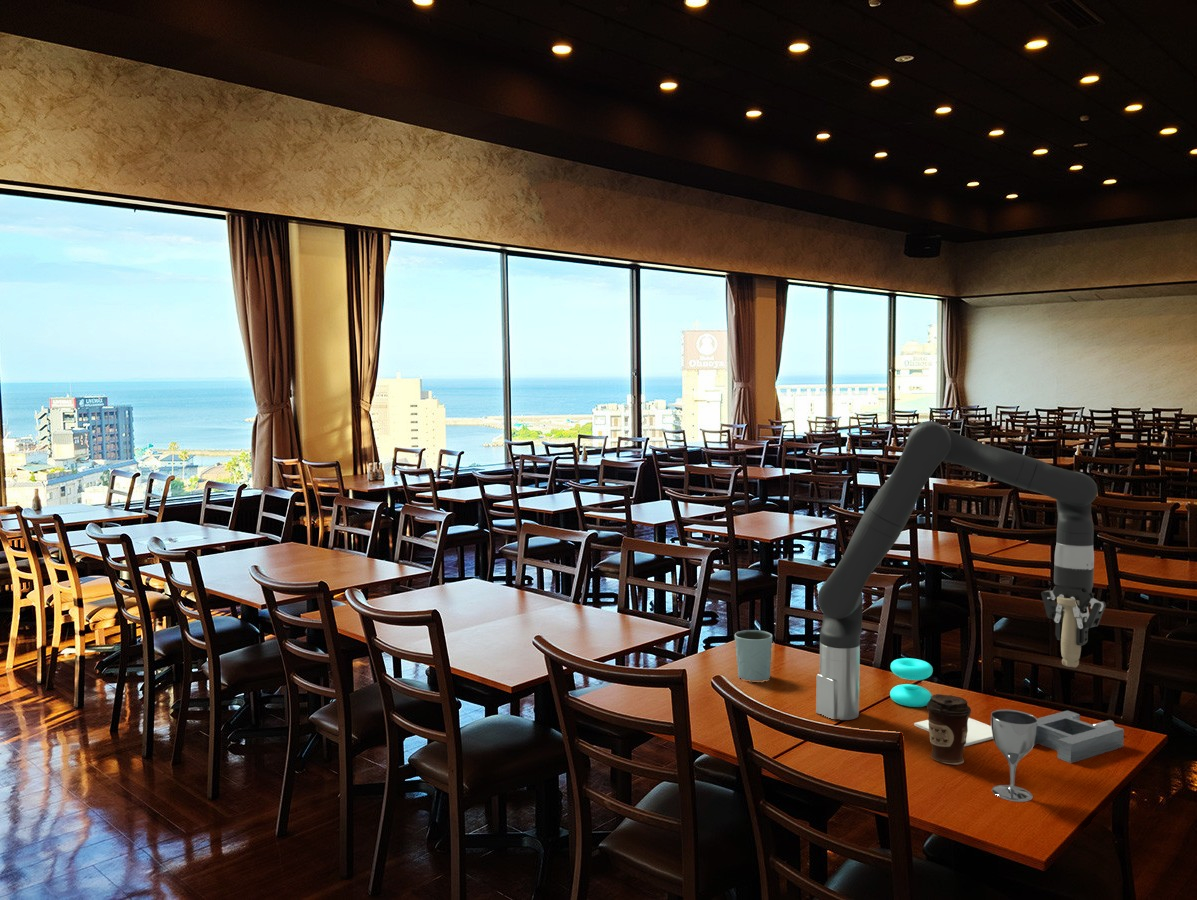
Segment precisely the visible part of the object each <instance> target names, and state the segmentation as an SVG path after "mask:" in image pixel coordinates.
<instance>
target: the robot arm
mask: <svg viewBox="0 0 1197 900" xmlns="http://www.w3.org/2000/svg"><path fill="white" fill-rule="evenodd" d="M942 462H945V463H950V464H954V465H956V464H957V465H960V466H963V467H966V468H969V469H972V470H974V471H976V472H979V473H981V474H984V475H986V476H988V477H990V478H992V479H994V480H997V481H1001V482H1002V483H1005V484H1008V485H1010V486H1014V487H1016V488H1020V489H1023V490H1027V491H1030V492H1034V493H1038V494H1042V495H1045V496H1046V497H1049V498H1052V499H1054V500H1056V513H1057V525H1056V545H1055V550H1054V567H1053V568H1054V569H1053V583H1054V587H1053V589H1052V590H1051V589H1049V590H1043V591H1041V593H1040V595H1041V598H1042V599H1041V600H1042V602H1043V606H1044V610H1045V615H1046V616H1047V618H1048V619H1051V620H1053V621H1054V623H1055V625H1054V627H1055V632H1054V635H1055V637H1056V640H1058V641H1061V634H1062V624H1063V614H1064V607H1063V606H1061V605H1060V604H1058V603H1057V601H1056V600H1057V597H1058V596H1059V597H1061V598H1070V600H1075V604H1076V607H1073V613H1074V617H1075V618H1076V620H1077V625H1078V628H1077V637H1076V644H1077V645H1079V646H1081V647H1082V646H1085V645H1086V644H1087V643H1088V641H1089V629H1091V628H1096V627H1098V626H1099V624H1100V623H1101V622H1100V621H1101V619H1102V616H1103V614H1104V612H1105V609H1106V607H1107V604H1106V602H1105V601H1099V600H1098V599H1096V598H1094V595H1093V592H1092V591H1093V587H1094V571H1095V567H1094V566H1095V551H1094V536H1095V535H1094V533H1095V532H1094V531H1095V530H1094V522H1093V519H1092V503H1093V502H1094V501H1095V500H1096V498H1097V495H1098V490H1099V489H1098V485H1097V483H1096V482H1095V480H1094V479H1093V478H1092V477H1091V476H1089V475H1088V474H1085V473H1083V472H1079V471H1073V470H1069V469H1065V468H1063V467H1057V466H1053V465H1052V464H1049V463H1047V462H1045V461H1043V460H1040V459H1037V458H1034V457H1032V456H1028V455H1024V454H1022V453H1017V452H1014V451H1011V450H1007V449H1003V448H999V447H996V446H992V445H989V444H986V443H983V442H981V441H980V442H979V441H976V440H974V439H971V438H969V437H967V436H963V435H961V434H959V433H957V432H955V431H953V430H951V429H950V428H947V427H945V426H944V425H943V424H941V423H939V422H937V421H933V420H931V421H930V420H928V421H921V422H920V423H918V424H916V425H915V426H913V428H912V429H911V430H910V432H909V435H908V436H907V440H906V443H905V446H904V448H903V451H902V453H901V455H900V457H899V459H898V461H897V464H896V466H895V468H894V469H893V471H892V472H891V474H890V475H889V477H888V478H887V479H886V481H885V482H884V484H883V485H881V487H880V488H879V490H878V491H877V492H876V493H875V495H874V497H873V498H872V500H871V501H870V503H869V504H868V506H867V508H866V509H865V511H864V513H863V515H862V516H861V518H860V520H859V521H858V523H857V526H856V528H855V530H854V532H853V534H852V536H851V538H850V540H849V543H848V545H847V546H846V547H847V548H846V549H845V552H844V554H843V556H841V557H842V558H840V561H839V562H838V564H837V566H836V567H835V568H834V570H833V571H832V573H831V574H830V575H829V576H828V577H827V580H825V582H824V583H823V584H822V585H821V587H820V588H819V591H818V593H817V594H818V595H817V604H818V607H819V609H820V610H821V612H822V613H823V618H822V624H821V629H820V632H819V673H816V680H815V681H816V682H815V683H816V684H815V685H816V686H815V687H816V689H815V691H816V692H815V693H816V694H815V714H818V715H820V714H822V715H821V716H823V715H824V716H823V717H825V716H826V717H825V718H827V717H828V719H829V718H831V719H840V720H841V721H850V720H854V719H857V718H859V715H860V663H861V661H860V658H861V656H860V655H861V653H860V651H861V649H860V648H861V647H860V646H861V645H860V644H861V635H862V630H863V629H862V627H863V603H864V602H863V597H864V596H863V589H864V588H865V586H866V584H867V582H868V580H869V579H870V576H871V575H872V573H873V572H874V571H875V569H876V568H877V566H878V565H879V564H880V563H881V562H882V560H883V559H884V558H885V557H886V555H887V554H888V553H889V551H890V550H891V549H892V547H893V546H894V544H895V543H896V542H897V541H898V538H899V537H900V535H901V533H902V531H903V530H904V528H905V526H906V525H907V523H908V521H909V519H910V517H911V515H912V513H913V511H914V509H915V506H916V505H917V502H918V499H919V497H920V495H921V492H922V491H923V489H924V487H925V485H926V484H927V482H928V481H929V479H930V478H931V476H932V475H933V474H934V472H935V470H936V469H937V468H938V466H939V465H940V464H941V463H942ZM1076 600H1079V605H1078V604H1077V602H1076ZM1089 605H1090V610H1089ZM1089 611H1090V612H1089ZM1080 612H1081V613H1080ZM831 719H830V720H831ZM840 720H839V721H840Z"/></svg>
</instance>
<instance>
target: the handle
mask: <svg viewBox="0 0 1197 900" xmlns="http://www.w3.org/2000/svg"><path fill="white" fill-rule="evenodd" d="M1076 602H1077V604H1078V605H1079V600H1076ZM1056 604H1060V605H1061V606H1063V607H1064V614H1063V624H1062V634H1061V640H1060V653H1061V657H1062V659H1061V664H1062V665H1063V666H1065V667H1067V668H1078V666H1079V664H1080V659H1081V652H1082V646H1079V645H1077V644H1076V637H1077V628H1078V625H1077V620H1076V618H1075V617H1074V613H1073V607H1076V604H1075V600H1070V598H1061V597H1059V596H1058V597H1057V599H1056ZM1080 613H1082V611H1081V612H1080Z"/></svg>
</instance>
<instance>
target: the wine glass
mask: <svg viewBox="0 0 1197 900" xmlns="http://www.w3.org/2000/svg"><path fill="white" fill-rule="evenodd" d="M990 726H991V729H992V735H993V739H992V740H993V741H994V744H995V745H996V747H997V748H998V750H999V751H1000V752H1001V754H1002V755H1003V756H1004V757H1005V759H1006V761H1007V763H1008V766H1009V776H1010V777H1009V784H999V785H995V786H993V787H992V789H991V792H992V791H993V792H992V793H993V794H994V795H995V796H996V795H997V796H996V797H998V796H999V797H998V798H1000V799H1003V800H1006V801H1009V802H1010V801H1011V802H1019V803H1023V802H1025V803H1026V802H1030V801H1031V800H1033V794H1032V793H1031V792H1030V791H1029V790H1027V789H1025V788H1023V787H1019V786H1016V785H1015V784H1016V783H1015V779H1016V772H1017V771H1016V770H1017V768H1018V767H1017V766H1018V764H1019V762H1020V761H1021V760H1022V759H1023V758H1024V757H1025V756H1026V755H1028V754H1029V753H1030V752H1031V751H1032V750H1033V747H1034V746H1035V745H1034V742H1035V738H1036V733H1037V717H1036V716H1034V715H1033V714H1031V713H1028V712H1024V711H1023V710H1022V711H1020V710H1015V709H1003V708H1002V709H997V710H993V711H992V712H991V713H990Z"/></svg>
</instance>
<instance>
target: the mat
mask: <svg viewBox="0 0 1197 900" xmlns="http://www.w3.org/2000/svg"><path fill="white" fill-rule="evenodd" d="M913 725H914V726H915V727H917V728H919V729H922V730H924V731H927V732H929V721H928V719H926V720H920V721H917V722H914V723H913ZM967 726H968V732H967V737H966V744H965V745H964V747H968V746H972V745H974V744H975V745H976V744H980V743H983V742H986V741H990V740H993V735H992V729H991V724H990V725H989V724H987V723H984V722H981V721H978V720H976V719H974V718H971V717H969V718H968V722H967Z"/></svg>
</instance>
